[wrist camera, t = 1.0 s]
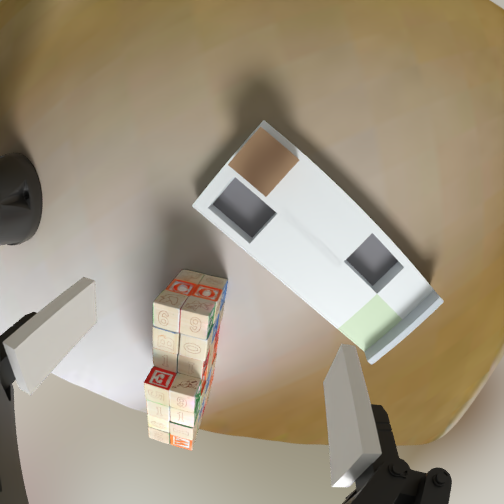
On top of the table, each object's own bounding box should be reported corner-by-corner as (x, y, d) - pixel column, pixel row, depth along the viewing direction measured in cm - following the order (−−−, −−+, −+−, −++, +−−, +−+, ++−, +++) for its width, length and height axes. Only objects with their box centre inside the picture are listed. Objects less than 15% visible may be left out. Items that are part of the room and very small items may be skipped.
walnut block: (236, 162, 31) (227, 164, 26) (264, 129, 29) (260, 126, 25) (269, 190, 31) (265, 197, 27) (298, 158, 30) (299, 160, 26)
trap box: (198, 201, 35) (186, 209, 31) (265, 122, 31) (261, 117, 27) (365, 344, 39) (371, 364, 35) (430, 285, 35) (443, 301, 31)
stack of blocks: (181, 267, 38) (140, 315, 27) (229, 278, 38) (203, 333, 26) (174, 383, 46) (148, 439, 34) (210, 393, 45) (191, 452, 34)
